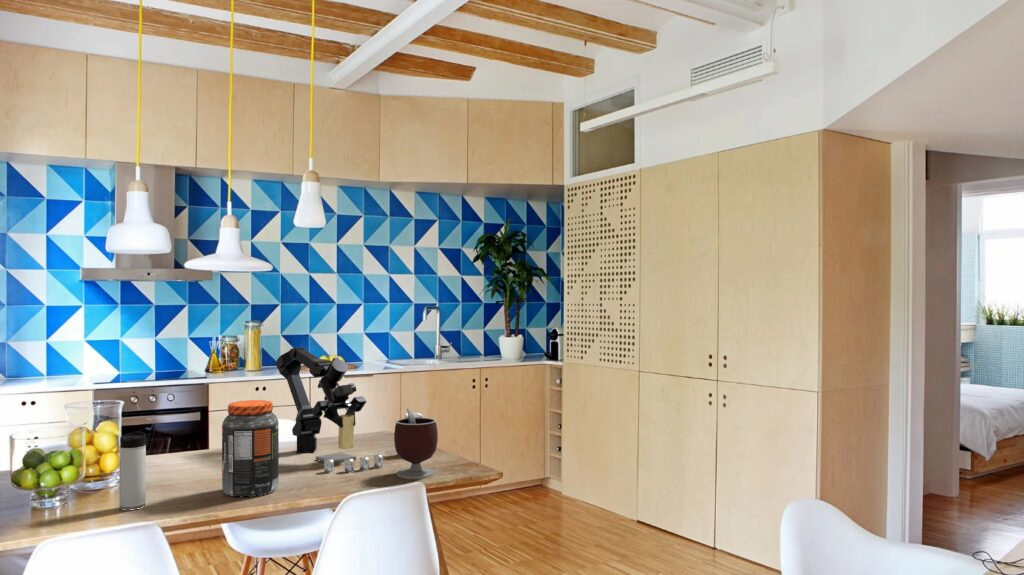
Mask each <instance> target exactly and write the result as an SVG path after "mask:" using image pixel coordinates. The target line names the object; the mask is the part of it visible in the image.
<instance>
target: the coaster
mask: <svg viewBox="0 0 1024 575" xmlns="http://www.w3.org/2000/svg"><path fill="white" fill-rule="evenodd" d="M348 458H352V459H354V461H356V460H357V456H356V455H352V454H348V453H344V452H341V451H340V452H335V453H329V454H328V453H327V454H324V455H318V456H315V460H316V459H317V460H320V461H319V462H321V461H323V462H322V463H324V460H325V459H334V463H337V464H339V463H338V462H343V463H344V459H348ZM317 460H316V461H317Z"/></svg>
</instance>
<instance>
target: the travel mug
mask: <svg viewBox="0 0 1024 575" xmlns="http://www.w3.org/2000/svg"><path fill="white" fill-rule="evenodd" d="M146 438H147V437H146V433H144V432H143V431H134V432H129V433H125V434H123V435H121V436H120V439H119V443H120V445H119V499H118V500H119V504H118V506H119V507H118V508H120V509H125V510H130V509H137V508H141V507H143V506H145V507H146V494H147V493H146V489H147V488H146V486H147V482H146V480H147V479H146V476H147V475H146V472H147V470H146V469H147V459H146V458H147V449H146V447H147V445H146V440H147V439H146ZM120 509H119V510H120Z"/></svg>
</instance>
